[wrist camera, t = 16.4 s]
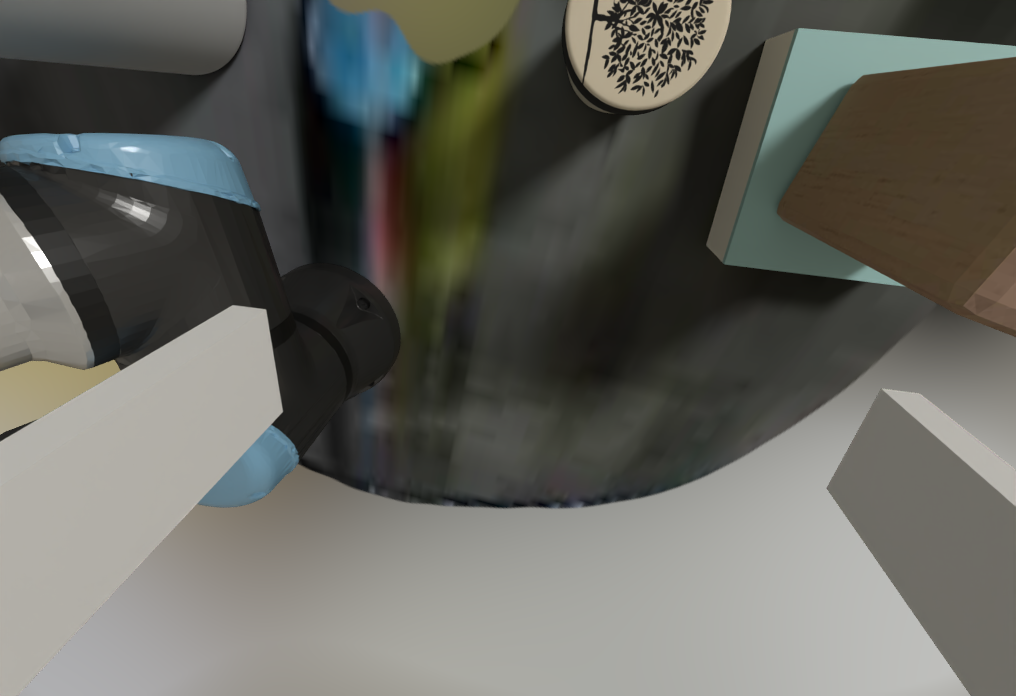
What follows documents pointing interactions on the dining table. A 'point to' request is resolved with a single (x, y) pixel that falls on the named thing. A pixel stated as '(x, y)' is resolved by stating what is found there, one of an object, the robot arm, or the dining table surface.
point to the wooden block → (922, 184)
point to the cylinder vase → (125, 33)
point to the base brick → (807, 140)
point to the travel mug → (640, 50)
